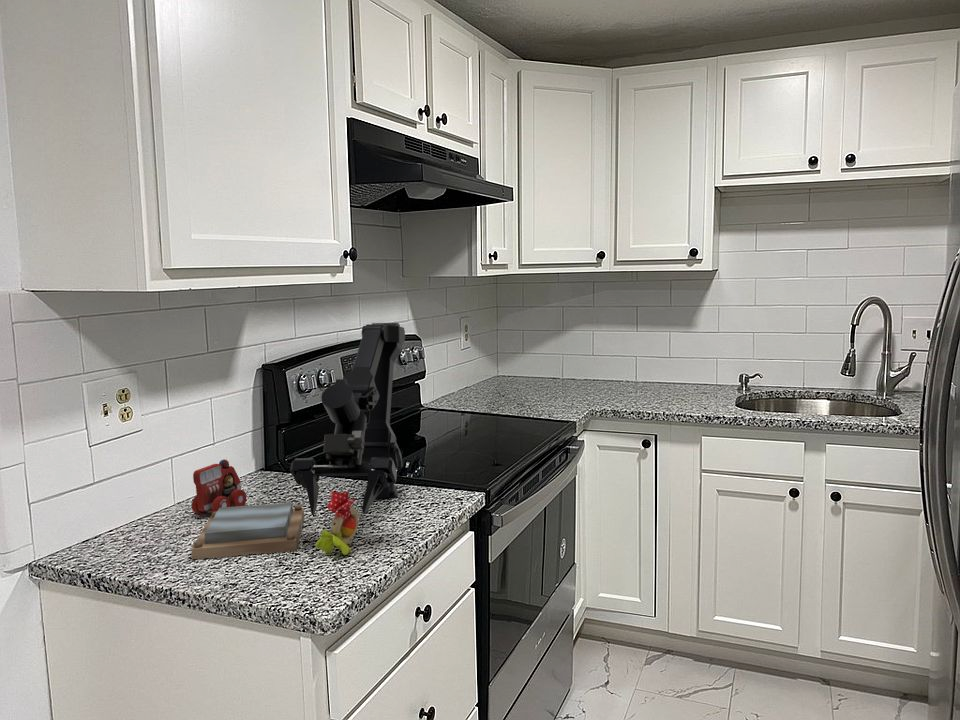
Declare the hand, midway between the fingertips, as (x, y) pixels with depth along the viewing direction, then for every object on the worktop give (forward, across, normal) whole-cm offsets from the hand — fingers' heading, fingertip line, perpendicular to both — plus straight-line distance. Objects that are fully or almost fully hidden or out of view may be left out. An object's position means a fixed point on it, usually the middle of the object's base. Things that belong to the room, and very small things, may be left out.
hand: (338, 513), depth 131 cm
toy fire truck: (-11, -31, +21) cm, 39 cm away
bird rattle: (+4, 0, +6) cm, 7 cm away
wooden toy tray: (0, -19, +10) cm, 21 cm away
